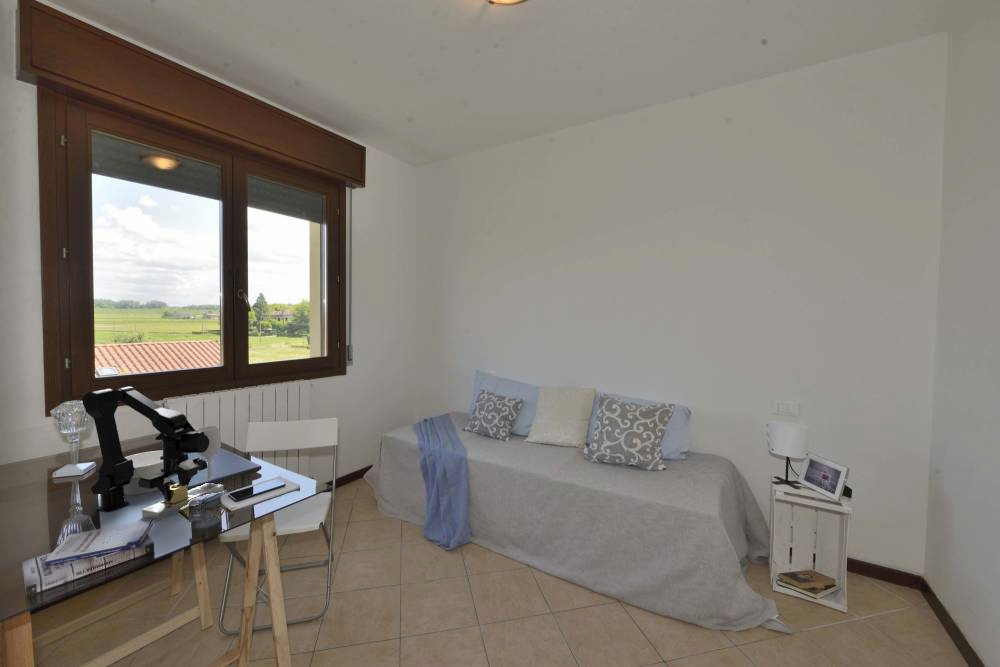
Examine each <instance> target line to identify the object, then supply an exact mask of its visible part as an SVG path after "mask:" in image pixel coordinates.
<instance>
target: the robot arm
mask: <svg viewBox="0 0 1000 667" xmlns="http://www.w3.org/2000/svg"><path fill="white" fill-rule="evenodd" d="M81 402H82V405H83V408H84V410H85V412H86V413H87V414H88V415H89V416H90V417H91V418H92V419H93V420H94V424H95V425H94V426H95V430H96V434H97V439H98V443H99V448H100V453H101V457H102V463H101V465H100V468H99V470H98V478H99V479H98V480H97V481H96V482H95V483H94V485H92V486H91V488H90V490H91V492H92V494H93V495H100V496H99V497H100V506H97V507H95V510H96V511H101V512H105V513H110V512H112V511H114V510H117V509H119V508H123V507H125V506H128V505H130V504H131V502H129V501H126V500H125V494H124V488H123V486H125V485H127V484H130V481H131V478H132V476H133V475H134V471H135V469H134V467H133V461H132V459H130V460H127V459H126V458H125V457H126V456H124V455H123V450H122V444H121V440H120V436H119V435H120V434H119V432H118V426H117V422H116V417H115V415H116V414H115V413H116V411H117V409H118V406H119V402H121V403H123V404H124V405H126V406H127V407H129V408H131V409H133V410H134V411H136V412H138V413H139V414H140V415H141V416H143V417H145V418H147V419H149V421H151V425H152V427H153V428H154V429H156V430H157V431H158V432H159V434H158V435H157V436H156V437H155V438H154V440H155V441H161V442H162V443H161V446H162V450H163V456H161V457H160V460H163V468H162V469H161V472H164V474H161V475H156V474H150V475H147V476H145V477H142V478H140V480H139V482H138V484H139V487H143V488H148V489H152V488H155V487H157V488H158V489H159V490H158V491H159V492H160V493H161V496H162V497H163V499H164V498H165V499H166V501H168V502H169V501H170V498H171V495H170V486H171V485H173V482H172V481H171V482H169V478H170V477H175V476H177V479H178V483H180V484H186V485H187V488H188V487H189V484H190V483H191V480H192V479H193V477H194V476H196V475H198V473H199V472H198V471H204V470H206V469H208V461H206V460H205V459H203V458H202V457H200V456H199V457H196V458H192V459H190V458H189V455H188V453H190V454H191V453H195V454H199V453H203V452H205V451H206V450H207V448H208V446H209V439H208V437H207V436H206V435H204V431H200V432H197V431H196V430H195V428H194V426H192V424H191V423H190V421H189V420H188V419H187V416H186V415H185V414H184V413H181V412H179V411H177V410H175V409H170V408H166V407H163V406H161V405H159V404H158V403H156V402H155V401H154V400H152V399H150V398H148V397H147V396H145V395H144V394H142V393H141V392H139V391H137V390H136V389H135V388H134V387H133V386H124V387H120V388H116V389H114V390H113V389H111V388H105V389H99V390H93V391H90V392H87V393H85V394H84V396H83V397H82V400H81ZM169 474H170V475H169Z"/></svg>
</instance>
